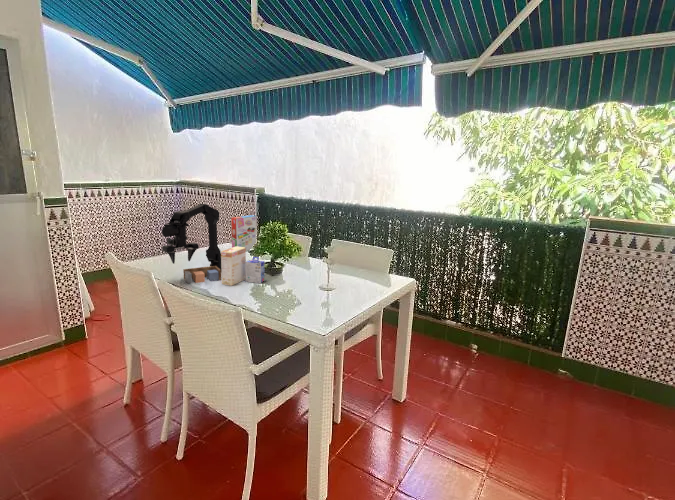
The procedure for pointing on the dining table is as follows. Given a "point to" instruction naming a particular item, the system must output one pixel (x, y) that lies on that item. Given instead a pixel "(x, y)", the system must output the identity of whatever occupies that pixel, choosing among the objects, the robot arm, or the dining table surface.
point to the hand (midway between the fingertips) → (181, 262)
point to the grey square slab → (188, 277)
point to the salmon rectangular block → (198, 277)
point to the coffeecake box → (233, 265)
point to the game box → (244, 231)
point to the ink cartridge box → (255, 271)
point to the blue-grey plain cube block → (212, 275)
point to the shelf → (203, 270)
